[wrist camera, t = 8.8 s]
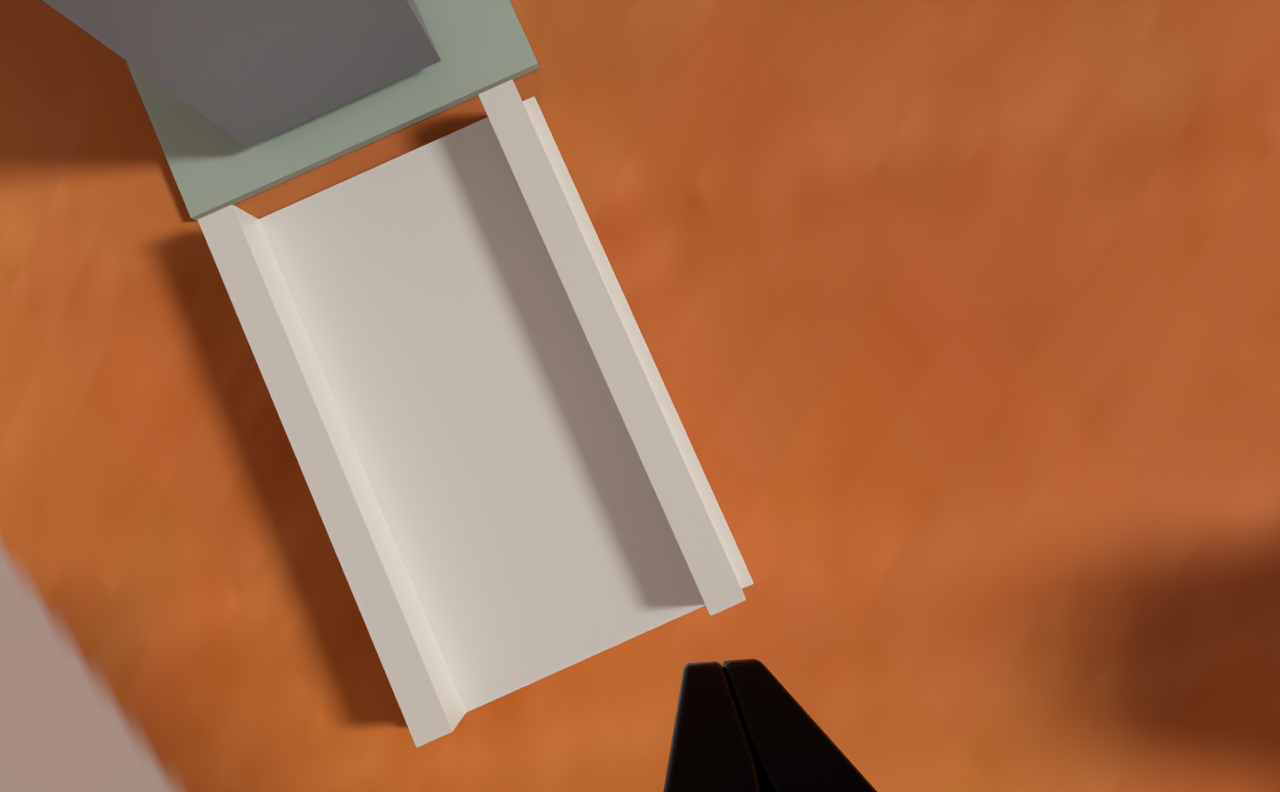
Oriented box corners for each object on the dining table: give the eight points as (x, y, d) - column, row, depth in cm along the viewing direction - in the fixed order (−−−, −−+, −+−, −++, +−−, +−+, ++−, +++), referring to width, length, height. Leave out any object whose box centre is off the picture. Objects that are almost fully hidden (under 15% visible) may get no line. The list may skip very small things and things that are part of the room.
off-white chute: (751, 579, 22) (760, 593, 20) (425, 725, 22) (401, 754, 20) (537, 105, 23) (526, 72, 21) (225, 244, 23) (183, 225, 21)
